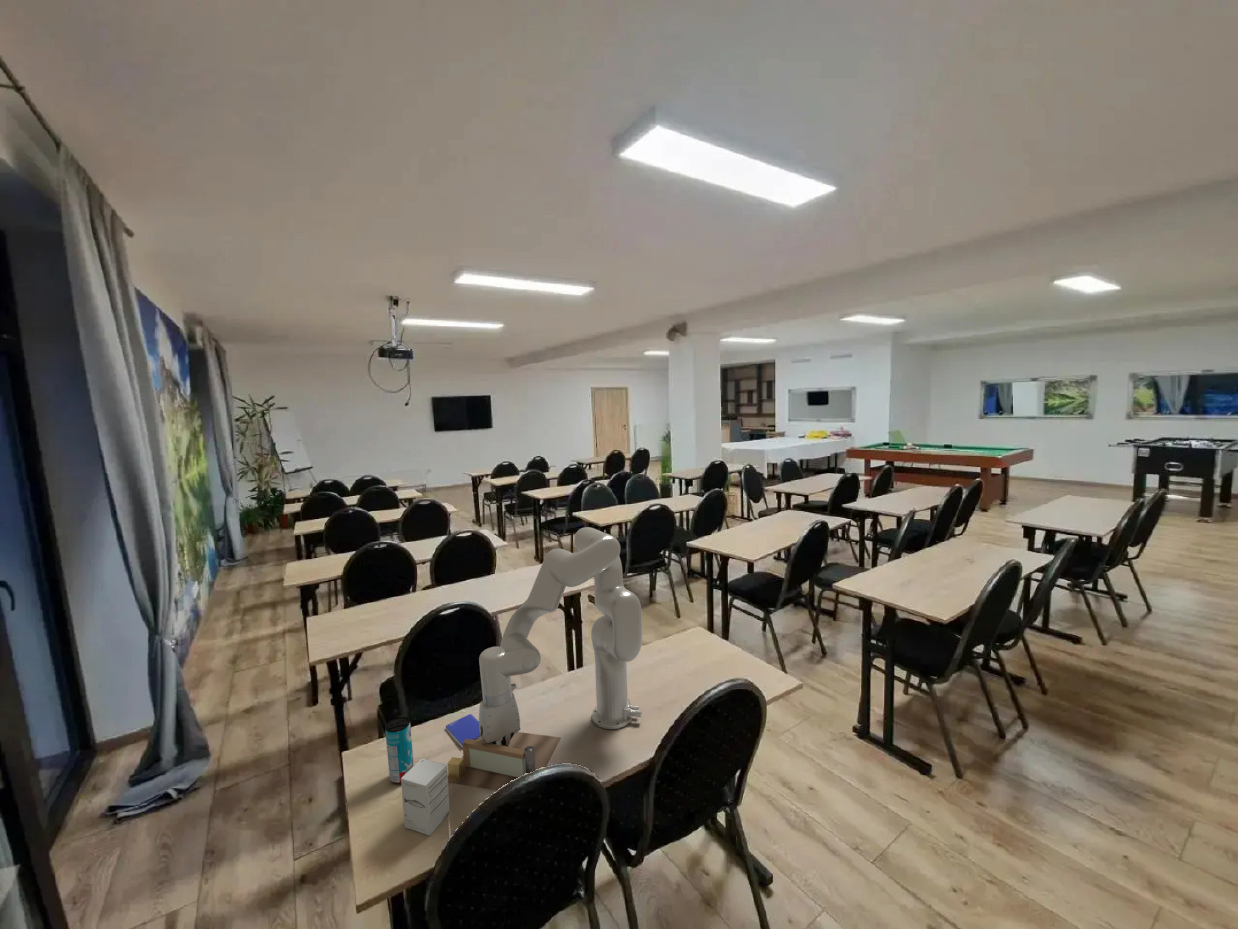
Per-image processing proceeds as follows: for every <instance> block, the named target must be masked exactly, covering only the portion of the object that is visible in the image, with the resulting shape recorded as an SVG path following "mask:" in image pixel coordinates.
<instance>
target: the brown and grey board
mask: <svg viewBox="0 0 1238 929" xmlns="http://www.w3.org/2000/svg"><path fill="white" fill-rule="evenodd" d="M481 742H482V741H477V740H472V739H467V738H466V739H465V741H464V742H463V743H462V744H463V748H462V754H463V755H462V757H463V758H464V766H466V767H473V768H478V769H482V770H487V771H491V772H496V773H500V774H505V775H510V776H514V777H520V776H522V775H524V774H525V773H526V767H525V750H522V749H517V748H512V747H507V746H502V745H497V744H492V743H489V744H487V745H485V746H482V744H481Z"/></svg>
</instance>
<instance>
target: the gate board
mask: <svg viewBox="0 0 1238 929" xmlns="http://www.w3.org/2000/svg"><path fill="white" fill-rule="evenodd" d="M561 739H562V737H561V736H560V737H559V736H551V735H543V734H537V733H536V734H535V733H530V732H520V731H518V732H517V733H516V734H514V735H513V737H512V739H511V740H510V744H509V747H512V748H517V749H522V750H525V748H526V747H528V746H533V747H534V755H535V770H536V769H539V768H541V767H545V768H546V767H547V765H548V764H549V761H550V760H551V758H552V756H553V754H554V752H555V751H556V748H557V746H558V745H559V742H561V741H560V740H561ZM480 741H482V740H480ZM500 741H502V738H500ZM461 758H462V759H464V758H463V756H461ZM516 778H518V777H514V776H510V775H505V774H500V773H496V772H491V771H487V770H482V769H478V768H473V767H466V766H464V774H463V776H462V777H461V778H460V779H454V778H448V784H455V785H460V786H461V785H462V786H465V787H466V786H467V787H474V788H479V789H480V788H481V789H485V790H491V791H497V790H498V789H499V788H501V787H502V786H503V785H505V784H507V783H509V782H510V781H511V780H514V779H516Z"/></svg>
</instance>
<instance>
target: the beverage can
mask: <svg viewBox="0 0 1238 929" xmlns="http://www.w3.org/2000/svg"><path fill="white" fill-rule="evenodd" d="M384 729H385V741H386V752H387V753H386V754H387V761H388V764H387V765H388V774H389V781H390V782H391V784H394V785H402V784H401V778H402V777H403V776H404V775H405V774H406V773H407V772H408V771H409V770H410V769H411V768H412V767H413V766H415V764H414V753H413V741H412V728H411V720H410V718H409V717H406V716H398V717H394V718H393V719H390V720H389V721H388V722H387V723H386V724H385V726H384Z"/></svg>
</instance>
